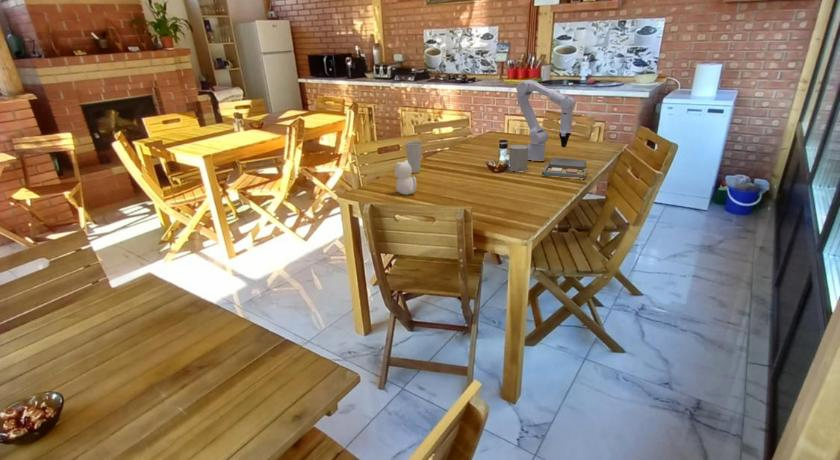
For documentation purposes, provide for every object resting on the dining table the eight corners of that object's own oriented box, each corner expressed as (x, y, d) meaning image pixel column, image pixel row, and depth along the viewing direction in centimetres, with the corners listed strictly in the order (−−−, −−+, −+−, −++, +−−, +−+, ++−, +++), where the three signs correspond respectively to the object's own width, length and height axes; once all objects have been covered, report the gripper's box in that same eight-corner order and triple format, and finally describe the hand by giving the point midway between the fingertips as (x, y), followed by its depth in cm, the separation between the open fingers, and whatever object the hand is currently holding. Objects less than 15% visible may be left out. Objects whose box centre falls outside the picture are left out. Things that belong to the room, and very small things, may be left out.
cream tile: (552, 167, 230) (552, 171, 231) (550, 170, 226) (550, 173, 227) (562, 168, 228) (562, 172, 229) (561, 170, 224) (560, 174, 225)
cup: (420, 174, 235) (419, 144, 229) (404, 173, 237) (403, 144, 230) (423, 169, 242) (423, 141, 236) (408, 169, 244) (407, 140, 238)
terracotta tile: (567, 168, 227) (567, 172, 228) (566, 171, 223) (565, 175, 224) (577, 169, 225) (577, 173, 226) (576, 172, 221) (576, 176, 222)
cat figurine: (404, 188, 215) (402, 157, 209) (423, 193, 207) (422, 161, 201) (391, 193, 209) (388, 161, 203) (410, 198, 201) (408, 165, 195)
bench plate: (548, 169, 235) (548, 164, 234) (552, 162, 247) (553, 157, 245) (582, 172, 228) (583, 166, 227) (585, 165, 240) (586, 160, 239)
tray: (541, 176, 225) (542, 171, 224) (546, 169, 235) (546, 164, 234) (583, 180, 217) (584, 175, 216) (586, 173, 228) (587, 168, 227)
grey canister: (506, 171, 235) (507, 148, 230) (511, 166, 243) (512, 144, 238) (524, 173, 231) (525, 149, 226) (529, 168, 238) (530, 145, 233)
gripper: (572, 124, 227) (569, 150, 232) (576, 119, 239) (573, 144, 244) (558, 123, 230) (555, 149, 235) (562, 118, 242) (559, 143, 247)
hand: (563, 147), depth 240 cm, fingers closed
